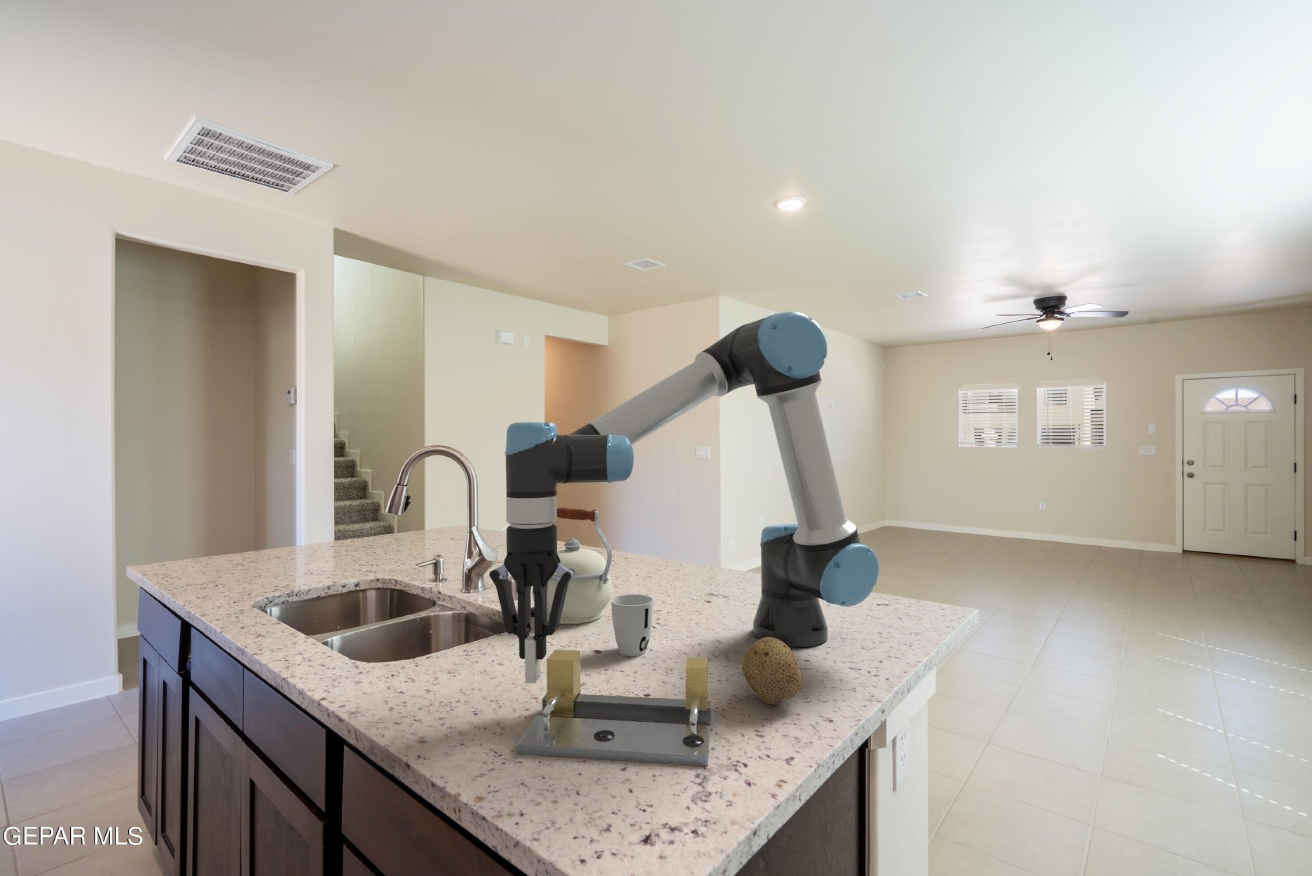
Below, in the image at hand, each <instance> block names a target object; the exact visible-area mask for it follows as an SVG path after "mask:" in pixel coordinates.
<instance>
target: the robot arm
mask: <svg viewBox="0 0 1312 876" xmlns="http://www.w3.org/2000/svg"><path fill="white" fill-rule="evenodd" d="M827 343H828V342H827V339H826V335H825V333H824V331H823V329H822V328H821V326H820V325H819V324H818V322H816V321H815V320H814V319H813V318H810V317H809V316H808V315H807V314H805V313H802V312H799V311H785V312H779V313H774V314H772V315H769V316H767V317H766V316H765V317H764V318H761V319H757V320H755V321H752V322H749V323H745V324H742V325H740V326H738V327H736V328H735V329H733V330H732V331H731V332H729V333H727V334H725V335H724V336H723V337H722V338H720V339H719V340H717V341H716V342H715V343H713V344H711V345H710V346H708V347H707V348H705V349H703V350H702V351H700V352H698V353H697V354H696V356H695V358H694V362H692V363H690V364H688V365H686V366H685V367H683V368H681V369H680V370H678V371H676V372H673V374H671V375H668V377H666V378H664V379H662V380H660V381H659V382H658V383H655V384H654V385H652V386H650V387H649V388H646V389H645V390H644V391H642V392H640V393H638V394H636V395H635V396H633V397H631V398H630V399H627V400H626V401H624V402H623V403H621V404H619V405H618V406H616V407H614V408H612V409H610V410H609V411H607V412H605V413H604V414H601V415H600V416H599V417H597V418H595V419H593V420H592V421H590V422H589V423H587V424H585V425H583V426H582V427H580V428H578V429H576V430H574V431H572V432H571V433H568V434H558V431H557V426H556V424H555V423H554V422H542V421H541V422H540V421H539V422H538V421H533V422H531V421H530V422H529V421H527V422H525V421H523V422H522V421H520V422H512V423H511V424H509V425H508V427H507V429H506V441H505V442H506V443H505V445H506V446H505V451H504V455H505V485H506V486H505V487H506V488H505V491H506V493H505V494H506V497H505V498H506V500H505V503H506V504H505V508H506V509H505V510H506V511H505V512H506V513H505V520H506V521H505V522H507V524H510V525H508V526H507V527H506V530H505V531H506V533H505V534H506V540H505V541H506V556H505V558H504V559H503V564H502V565H500V566H499V567H496V568H494V569H492V570H490V571H489V573H488V574H489V575H488V576H489V578H490V580H491V581H492V582H493V584H494V586H495V590H496V592H497V598H498V602H499V605H500V610H501V614H502V617H503V619H502V620H503V622H504V627H505V631H506V633H507V634H508V635H512V634H513V635H515V636H517V638H518V656H519V659H522V660H524V677H525V679H524V680H525V681H524V682H525V684H536V683H537V681H538V680H540V678H541V674H542V673H541V670H542V667H541V666H542V665H541V660H543V659H544V658H545V657H546V655H547V636H553V635H554V634H555V632H556V631H557V630H558V629H559V626H560V624H559V623H560V619H561V614H562V610H563V606H564V601H565V597H566V593H567V588H568V584H569V582H570V581H571V579H572V578H573V576H574V575H575V571H574V570H573V569H567V568H566V567H564V566H563V565H561V564H560V558H559V557H558V554H557V550H558V527H557V525H556V524H555V522H556V521H558V519H557V518H558V517H557V508H558V502H557V501H558V494H557V493H558V492H557V491H558V490H557V489H558V484H562V485H563V484H583V483H584V484H587V483H607V484H611V483H613V482H623V481H627V480H628V479H629V478H630V477H631V474H632V472H633V469H634V459H635V458H634V449H633V446H634V445H635V444H636V443H638V442H640V441H641V440H643V439H645V438H646V437H648V436H649V435H651V434H653V433H654V432H656V431H657V430H658V431H659V429H661V428H662V427H664V426H667V425H668V424H669V423H671V422H673V421H675V420H676V419H677V418H679V417H681V416H683V415H684V414H686V413H688V412H689V411H691V410H693V409H694V408H696V407H697V406H699V405H701V404H702V403H704V402H705V401H708V400H709V399H710V398H712V397H713V396H714V397H715V396H716V397H719V398H722V397H724V396H726V395H727V394H729V393H730V392H733V391H735V390H737V389H740V388H743V387H747V386H751V385H754V388H755V392H756V397H757V398H758V399H759V400H761V401H762V402H765V403H766V404H767V405H768V409H769V413H770V417H771V423H772V424H773V425H772V426H773V430H774V434H775V438H776V442H777V446H778V449H779V453H780V454H779V455H780V457H781V462H782V465H783V466H782V467H783V470H784V475H785V478H786V482H787V485H788V486H787V487H788V489H789V494H790V498H791V503H792V506H793V509H794V514H795V515H794V516H795V519H796V523H792V524H789V523H788V524H776V525H775V524H774V525H767V526H765V527H763V528H762V531H761V536H760V562H761V563H760V565H761V566H760V567H761V568H760V569H761V571H760V572H761V573H760V574H761V576H760V577H761V578H760V579H761V581H760V582H761V597H760V600H759V603H758V606H757V609H756V613H755V616H754V618H753V622H752V633H753V636H754V637H755V638H756V639H758V640H759V639H761V638H765V637H772V638H776V639H779V640H781V641H782V642H784V643H785V644H786V645H787V646H788V647H789V648H790V647H791V648H805V647H807V648H808V647H815V646H818V645H821V644H824V643H825V642H826V641H827V640H828V637H829V633H828V632H829V631H828V629H829V628H828V625H827V621H826V618H825V615H824V612H823V609H822V608H823V607H822V605H821V603H820V600H822V601H825V602H826V603H828V604H830V605H837V606H840V607H846V608H849V607H853V606H856V605H857V606H858V605H859V604H861V603H862V602H864V601H865V600H866V599H867V598H868V597H869V596H870V595H871V593H872V592H873V589H874V587H875V586H876V585H877V582H878V578H879V572H880V568H879V567H880V566H879V565H880V564H879V561H878V557H877V555H876V553H875V552H874V550H873V549H871V548H869V546H868V545H866V544H863V543H861V540H860V537H859V533H858V529H857V526H856V524H855V522H853V521H851V520H850V519H848V518H846V516H845V510H844V506H843V502H842V499H841V494H840V490H839V486H838V482H837V478H836V473H835V470H834V469H835V468H834V466H833V465H834V464H833V461H832V457H831V452H830V448H829V444H828V441H827V436H826V431H825V427H824V423H823V418H822V416H821V411H820V407H819V403H818V399H817V395H816V392H817V389H818V388H819V386H820V385H821V383H822V377H821V373H820V370H821V369H822V367H823V366H824V364H825V359H827V355H828V344H827ZM555 572H557V577H556V579H557V580H558V581H559V582H558V584H557V586H556V590H555V594H554V599H553V603H552V607H551V612H550V616H549V620H548V621H547V588H548V581H549V580H550V579H551V577H552V576H553V574H554V573H555ZM509 574H510V576H511V577H512V580H513V581H514V582H515V584H516V585H515V587H516V589H515V590H516V593H517V606H516V605H515V599H514V595H513V591H512V588H511V582H510V580H509ZM531 591H533V593H534V601H533V606H534V608H533V610H534V611H533V612H534V613H533V615H534V618H533V619H534V620H533V621H534V623H533V625H534V629H533V627H532V621H531V620H532V613H531V612H532V606H531V605H532V596H531V594H532V592H531ZM516 607H517V608H516ZM533 630H534V631H533ZM532 631H533V632H534V633H531V632H532Z"/></svg>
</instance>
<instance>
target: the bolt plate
mask: <svg viewBox="0 0 1312 876" xmlns="http://www.w3.org/2000/svg"><path fill="white" fill-rule="evenodd" d="M710 736H711V726H710V725H705V724H696V739H695V740H692V739H690V724H688V723H670V722H653V721H635V720H617V719H600V718H582V717H561V716H550V730H548V731H544V717H543V715H536V716H535V717H534V718H533V719H532V722H531V723H529V725H528V727H527V728H526V730H525V731H524V733H523V734H522V736H521V737H520V739H519V740H518V741H517V743H515V744H516V745H515V746H516V751H515V752H516V754H518V755H519V754H521V755H533V756H534V755H538V756H550V757H552V756H553V757H567V758H581V759H597V760H599V759H600V760H610V761H611V760H612V761H625V762H627V761H628V762H631V761H632V762H643V763H644V762H645V763H659V764H673V765H688V766H689V765H691V766H705V767H708V766H709V765H708V763H709V749H710V738H711V737H710Z"/></svg>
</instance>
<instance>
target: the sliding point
mask: <svg viewBox="0 0 1312 876" xmlns="http://www.w3.org/2000/svg"><path fill="white" fill-rule="evenodd" d="M581 687H582V684H581V650H574V649H573V650H571V649H569V650H568V649H554V650H553V651H552V653H550V655H549V656H548V657H547V658H546V693H547V695H546V694H545V695H546V707H545V709H544V710H543V711H542V710H541V716H543V717H544V731H548V730H550V717H564V718H574V717H573V716H574V700H575V698H576V696H577V694H582V689H581Z"/></svg>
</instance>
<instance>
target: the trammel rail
mask: <svg viewBox="0 0 1312 876" xmlns="http://www.w3.org/2000/svg"><path fill="white" fill-rule="evenodd" d="M708 663H709V659H708V657H692V656H691V657H689V656H688V657H687V660H686V664H685V699H683V698H665V697H664V698H662V697H647V696H646V697H645V696H644V697H642V696H627V695H626V696H625V695H606V694H588V693H587V694H586V693H581V694H577V696H576V698H575V700H574V716H573V717H572V718H581V719H599V720H616V721H634V722H652V723H669V724H687V725H690V739H692V740H695V739H696V725H704V726H710V725H711V724H712V723H711V722H712V700H709V686H708V685H709V665H708ZM546 695H547V692H546V693H545V694H544V695H543V697H542V699H541V703H542V705H541V712H542V711H543V710H544V709H545V707H546Z"/></svg>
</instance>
